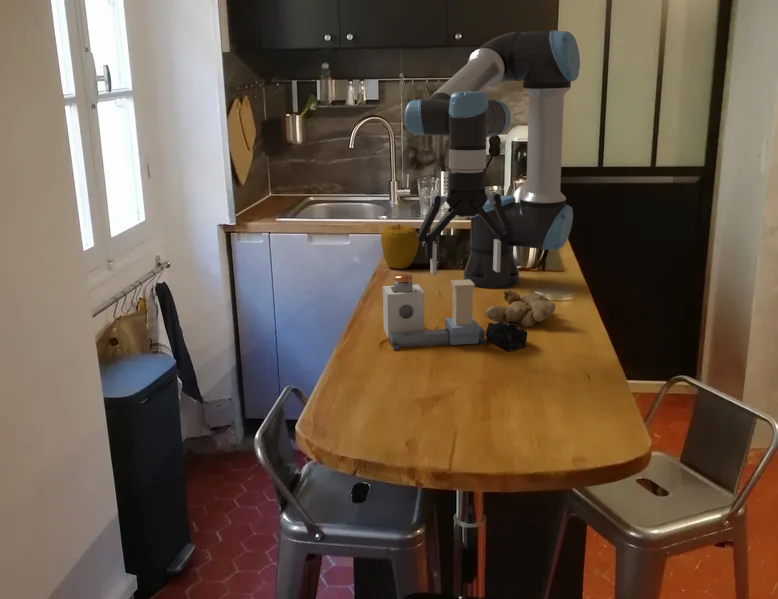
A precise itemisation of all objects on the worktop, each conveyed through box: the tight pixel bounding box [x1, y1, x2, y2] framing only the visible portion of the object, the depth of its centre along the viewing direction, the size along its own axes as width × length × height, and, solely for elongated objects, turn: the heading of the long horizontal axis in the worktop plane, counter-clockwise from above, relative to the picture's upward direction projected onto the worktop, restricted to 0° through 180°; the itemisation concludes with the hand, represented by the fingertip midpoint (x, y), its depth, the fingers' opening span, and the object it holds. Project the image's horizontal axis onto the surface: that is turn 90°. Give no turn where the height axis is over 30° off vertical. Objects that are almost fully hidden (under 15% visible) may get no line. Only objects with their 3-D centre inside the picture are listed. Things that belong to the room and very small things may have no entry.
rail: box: [388, 326, 487, 351], centre depth 169 cm, size 20×6×2 cm, turn 99°
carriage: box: [444, 279, 481, 346], centre depth 168 cm, size 6×7×13 cm
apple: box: [380, 223, 420, 270], centre depth 232 cm, size 11×11×13 cm
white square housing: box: [382, 284, 425, 339], centre depth 174 cm, size 8×7×10 cm
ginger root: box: [483, 289, 556, 328], centre depth 182 cm, size 16×16×8 cm
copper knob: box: [393, 273, 413, 293], centre depth 173 cm, size 4×4×6 cm
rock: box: [485, 322, 528, 353], centre depth 168 cm, size 7×10×6 cm
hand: (465, 272), depth 165 cm, fingers open, 13 cm apart
